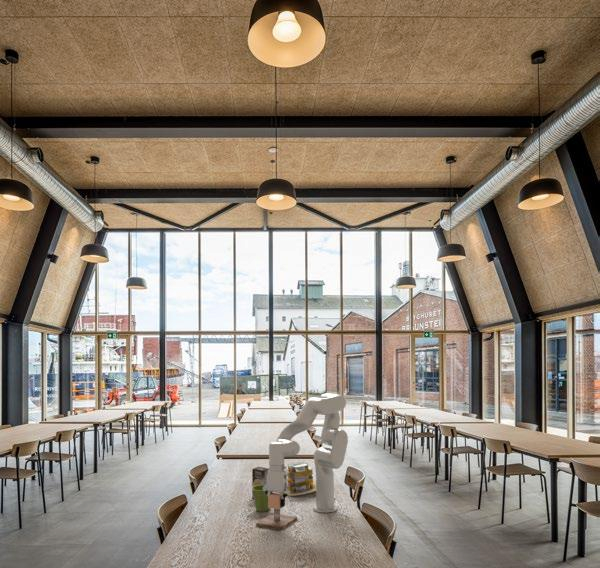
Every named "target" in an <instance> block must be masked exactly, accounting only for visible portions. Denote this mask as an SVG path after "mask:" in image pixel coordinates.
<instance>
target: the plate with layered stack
mask: <svg viewBox="0 0 600 568" xmlns="http://www.w3.org/2000/svg"><path fill="white" fill-rule="evenodd" d="M286 466H287V469H285V471H286V475H287V484H288V488H289V489H290V491H291V492H290V493H289V494H288V495H287V496H301V495H306V494H310V493H312V492H316V481H314V476H313V473H314V472H313V469H312V467H311V466H310V465H309V464H308V463H307V461H304V460H301V461H297V462H296V461H295V462H291V463H287V465H286ZM286 492H287V491H285V493H286Z"/></svg>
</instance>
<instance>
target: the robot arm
mask: <svg viewBox="0 0 600 568" xmlns="http://www.w3.org/2000/svg"><path fill="white" fill-rule="evenodd" d="M346 405H347V401H346V397H345V396H343V395H342V394H338V393H337V394H335V393H322V394H320V395H319V397H315V396H314V397H309V398H308V399H307V400H306V402H305V403H304V405H303V407H302V408H301V410H300V411H299V414H298V415H297V417H296V418H295V419H294V420H293V421H292V422H290V423H289V424H288V425H287V426H286V427H284V428H283V429H282V431H281V432H280V433H279V436H278V437H277V438H276V440H275V441H271V442H269V444H268V468H269V470H268V473H267V480H266V485H265V486H264V487H263V490H264V491H265V493H266V494H267V497H268V495H269V494H271V493H273V492H277V493H280V496H281V499H280V507H281V508H280V509H282V508H284V507H285V506H286V498H287V497H288V496H289V495H288V494H289V493H290V492H291V491H290V489H289V488H288V481H287V478H288V477H287V475H286V470H287V465H286V466H285V457H294V456H297V455H298V454H299V453H300V449H301V447H300V444H299V443H298V442H297V441H295V440H292V439H293V438H294V437H296V435H298V434H300V433H303V432H305V431H307V430H310V428H311V426H312V424H313V423H314V421H315V420H316V418H317V416H318V415H320V416H322V415H323V416H324V422H323V426H322V429H321V435H320V441H321V443H322V444H323V445H326V446H330V447H331V448H329V447H324V446H321V447H318V448H317V449H315V451H314V452H313V453H314V454H313V462H314V467H315V468H314V469H315V482H316V491H315V500H316V502H315V505H313V507H312V508H313V511H315V512H317V513H323V514H325V513H327V514H331V513H334V512H336V511H337V510H338V506H337V505H336V504H335V501H336V500H337V498H336V497H335V485H334V484H335V477H334V476H335V475H334V474H335V473H334V470H338V469H340V468H341V467H342V466H343V465H344V462H345V459H346V452H347V448H348V443H349V439H348V438H349V437H348V433H347V432H346V430H344V429H342V428H340V423H341V415H340V413H339V412H341V411H343V410H344V409H345V407H346ZM333 469H334V470H333ZM285 491H287V492H286V493H285Z"/></svg>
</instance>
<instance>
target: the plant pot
mask: <svg viewBox="0 0 600 568" xmlns="http://www.w3.org/2000/svg"><path fill="white" fill-rule="evenodd" d="M264 486H265V485H257V486H254V487H252V486H251V490H252V489H253V493H254V498H253V499H254V503H255V509H256V510H255V511H259V512H267V511H269V510H270V509H271V508H268V497H267V494H266V493H265V491H264V490H263V487H264Z"/></svg>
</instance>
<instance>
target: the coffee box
mask: <svg viewBox="0 0 600 568" xmlns="http://www.w3.org/2000/svg"><path fill="white" fill-rule="evenodd" d="M251 470H252V472H251V474H252V476H251V477H252V479H251V481H252V482H251V484H252V486H251V490H252V491H251V492H252V493H251V495H252V496H251V498H253V499H255V498H254V493H253V489H252V487H254V486H257V485H266V480H267V473H268V470H269V467H263V466H257V467H254V468H252V469H251Z"/></svg>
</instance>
